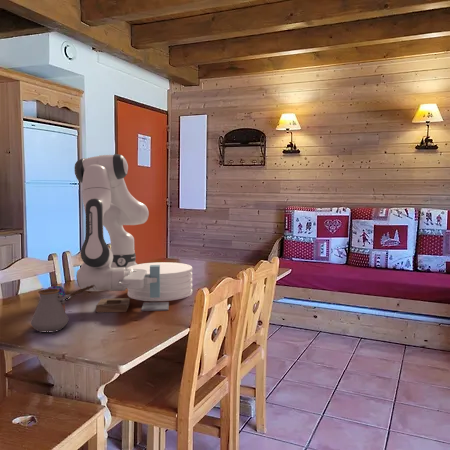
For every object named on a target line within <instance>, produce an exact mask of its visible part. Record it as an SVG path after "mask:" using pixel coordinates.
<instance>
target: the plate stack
mask: <svg viewBox="0 0 450 450" xmlns="http://www.w3.org/2000/svg"><path fill="white" fill-rule="evenodd" d="M137 264H138V263H137ZM150 265H160V298H150V283H148V284H144V287H143V288H141V289H127V296H128V298H130V299H134V300H136V301H142V302H143V301H144V302H169V301H177V300H181V299H185V298H187V297H190V296H191V295H192V294H193V266H192V265H190V264H188V263H187V264H186V263H181V262H172V261H171V262H164V261H163V262H162V261H161V262H145V263H144V262H143V263H139V264H138V265H133V266H130V267H128V269H143V270H147V274H150Z"/></svg>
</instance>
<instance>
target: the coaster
mask: <svg viewBox="0 0 450 450" xmlns="http://www.w3.org/2000/svg"><path fill="white" fill-rule="evenodd" d="M169 306H170V302H169V301H148V302H143V303H142V306H141V312H150V311H152V312H154V311H155V312H157V311H160V312H161V311H169Z"/></svg>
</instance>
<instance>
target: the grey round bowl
mask: <svg viewBox="0 0 450 450" xmlns="http://www.w3.org/2000/svg"><path fill="white" fill-rule="evenodd" d="M47 289H59V292H58V293H59V294H60V295H62V297H64V296H66V295H67V294H66V292H65V289H64V287H63V286H61V285H53V286H49V287H48V288H47ZM71 298H72V296H70V297H69V298H68V299H66V300H69V299H71ZM66 300H65V301H66Z"/></svg>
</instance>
